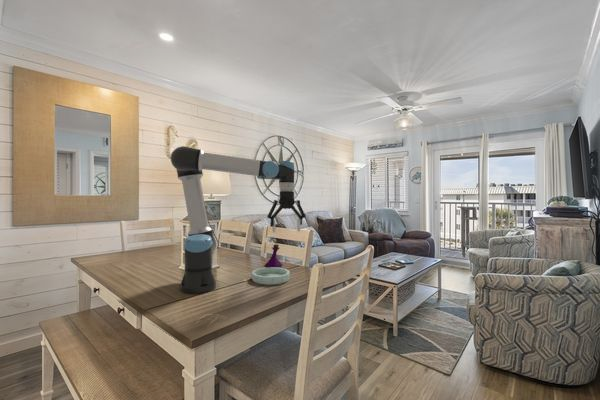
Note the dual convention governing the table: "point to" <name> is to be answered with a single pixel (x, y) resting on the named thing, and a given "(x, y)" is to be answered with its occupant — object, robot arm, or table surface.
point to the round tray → (270, 275)
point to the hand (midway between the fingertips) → (286, 231)
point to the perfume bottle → (274, 257)
